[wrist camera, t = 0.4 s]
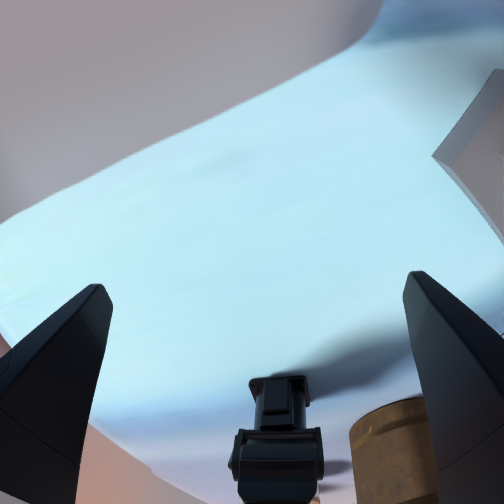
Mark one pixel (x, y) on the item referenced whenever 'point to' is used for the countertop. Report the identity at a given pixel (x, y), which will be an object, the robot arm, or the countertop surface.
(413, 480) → the wooden container
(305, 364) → the countertop surface
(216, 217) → the countertop surface
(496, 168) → the switch unit
